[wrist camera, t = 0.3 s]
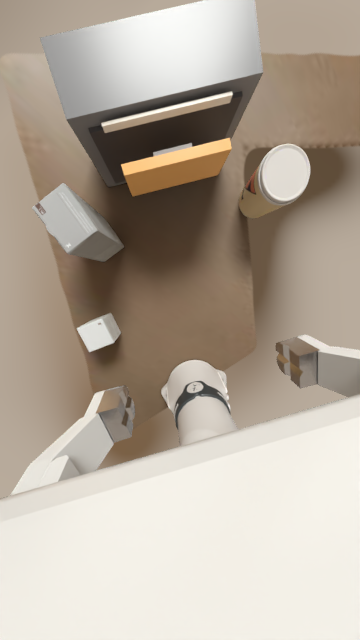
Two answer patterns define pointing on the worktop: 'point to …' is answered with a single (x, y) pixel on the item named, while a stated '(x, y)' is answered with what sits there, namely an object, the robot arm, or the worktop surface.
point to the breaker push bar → (176, 166)
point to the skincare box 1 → (77, 225)
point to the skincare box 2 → (99, 332)
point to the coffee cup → (275, 181)
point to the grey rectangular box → (156, 80)
